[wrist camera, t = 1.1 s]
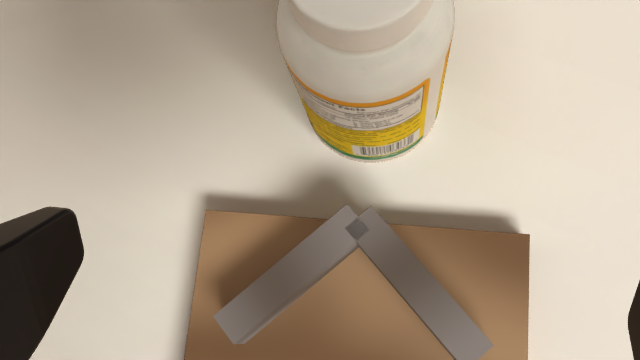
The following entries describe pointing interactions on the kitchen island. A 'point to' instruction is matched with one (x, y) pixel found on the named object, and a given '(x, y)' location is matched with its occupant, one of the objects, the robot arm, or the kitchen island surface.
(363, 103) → the supplement bottle
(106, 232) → the kitchen island surface
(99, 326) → the kitchen island surface
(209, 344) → the square wooden base plate
